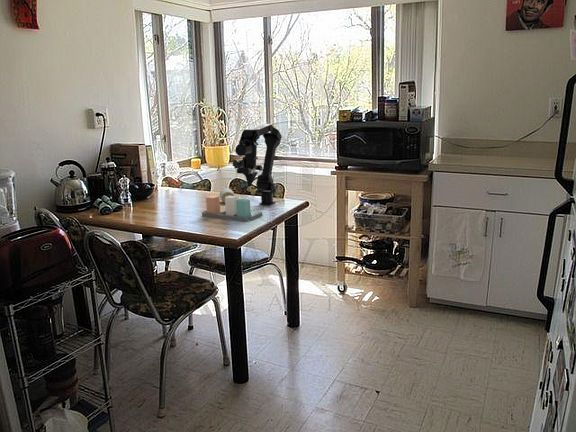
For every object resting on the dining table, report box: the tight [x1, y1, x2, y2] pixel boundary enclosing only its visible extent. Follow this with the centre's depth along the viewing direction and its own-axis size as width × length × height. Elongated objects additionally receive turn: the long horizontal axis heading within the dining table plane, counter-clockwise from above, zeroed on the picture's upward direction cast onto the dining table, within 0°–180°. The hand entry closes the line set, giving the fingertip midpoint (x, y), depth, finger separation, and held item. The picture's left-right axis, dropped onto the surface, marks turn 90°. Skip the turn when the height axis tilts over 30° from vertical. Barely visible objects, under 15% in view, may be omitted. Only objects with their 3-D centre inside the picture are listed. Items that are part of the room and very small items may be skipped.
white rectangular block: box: [224, 195, 240, 216], centre depth 238 cm, size 4×5×9 cm
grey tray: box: [201, 209, 264, 223], centre depth 239 cm, size 14×30×3 cm, turn 59°
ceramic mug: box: [219, 187, 240, 204], centre depth 268 cm, size 11×8×8 cm
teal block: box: [236, 198, 252, 220], centre depth 231 cm, size 4×5×9 cm
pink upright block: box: [205, 195, 221, 214], centre depth 240 cm, size 4×5×9 cm
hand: (249, 186), depth 247 cm, fingers closed
